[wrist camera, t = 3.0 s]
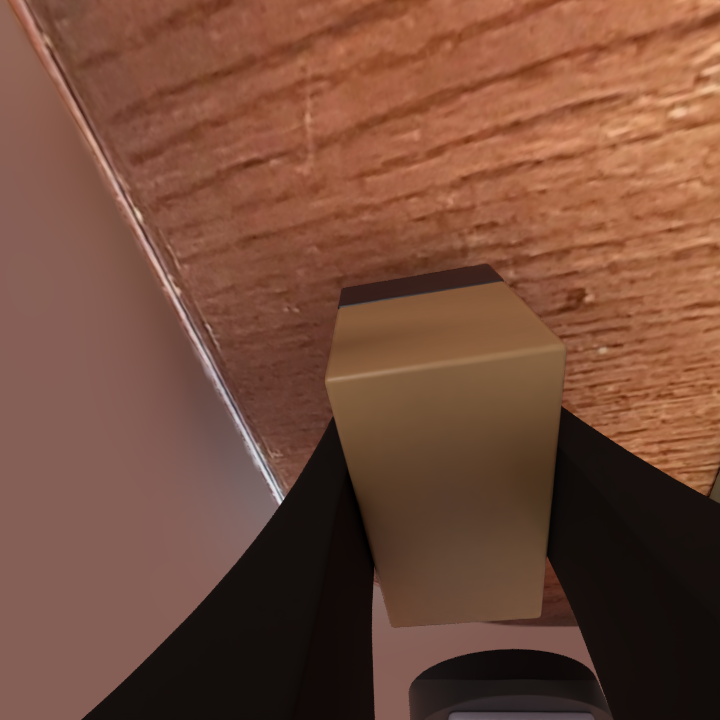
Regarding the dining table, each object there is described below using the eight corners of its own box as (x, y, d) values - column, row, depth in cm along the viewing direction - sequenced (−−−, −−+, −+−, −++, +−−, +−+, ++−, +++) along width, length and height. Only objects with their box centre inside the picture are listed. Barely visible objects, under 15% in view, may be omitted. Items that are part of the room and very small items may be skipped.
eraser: (491, 480, 12) (542, 619, 8) (384, 492, 12) (390, 630, 9) (488, 262, 8) (570, 344, 5) (340, 287, 9) (322, 380, 5)
